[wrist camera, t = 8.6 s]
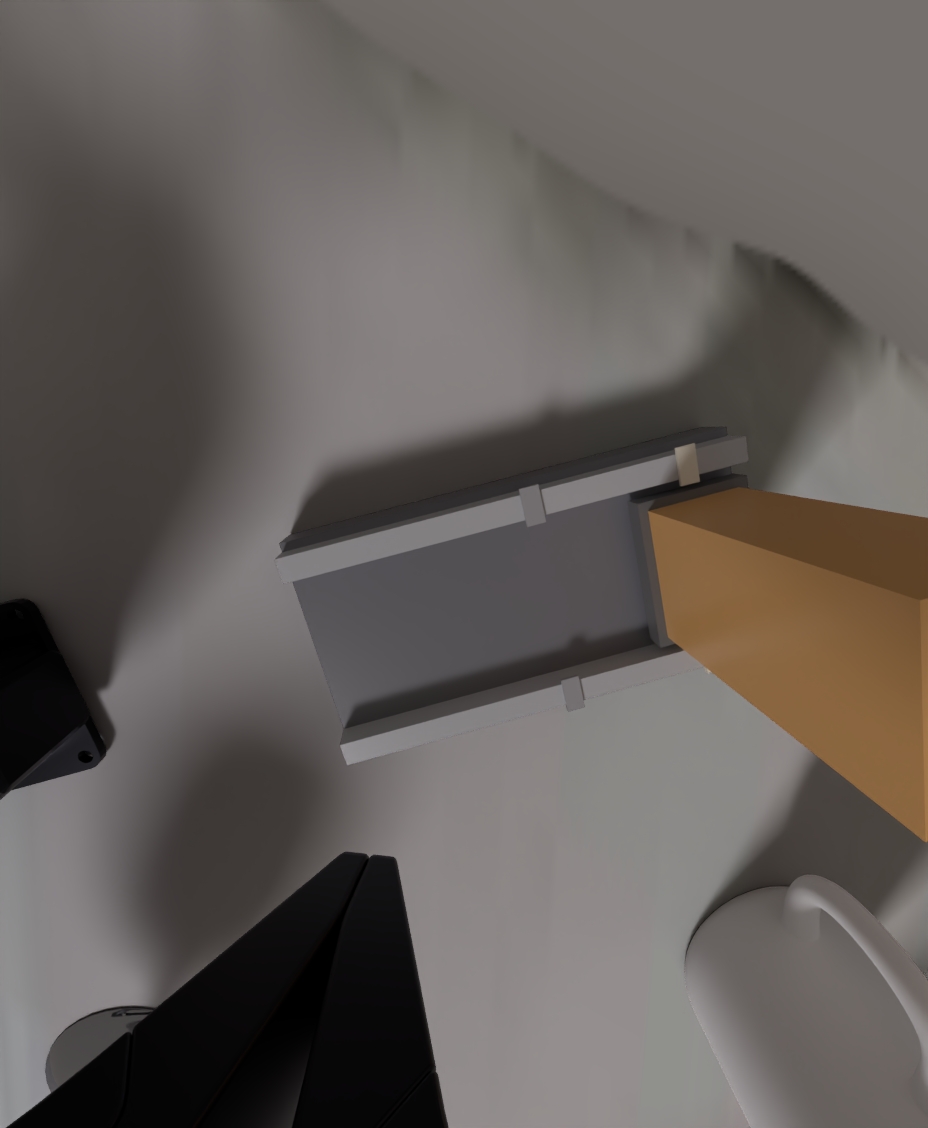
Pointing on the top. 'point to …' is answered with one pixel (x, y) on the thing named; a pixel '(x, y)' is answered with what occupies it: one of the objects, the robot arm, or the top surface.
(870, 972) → the cup
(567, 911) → the top surface
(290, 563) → the rail
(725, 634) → the fader tab
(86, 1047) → the wine glass
